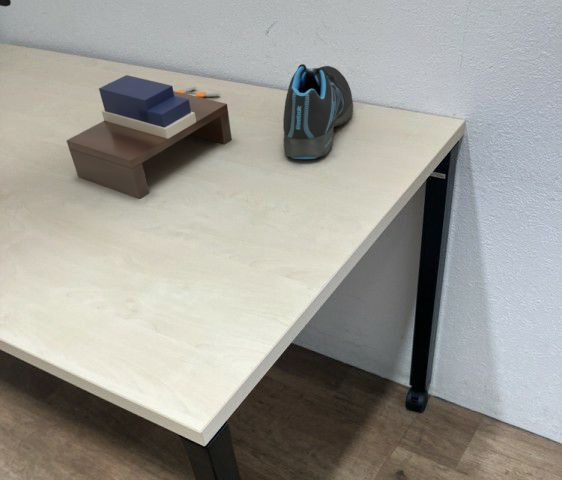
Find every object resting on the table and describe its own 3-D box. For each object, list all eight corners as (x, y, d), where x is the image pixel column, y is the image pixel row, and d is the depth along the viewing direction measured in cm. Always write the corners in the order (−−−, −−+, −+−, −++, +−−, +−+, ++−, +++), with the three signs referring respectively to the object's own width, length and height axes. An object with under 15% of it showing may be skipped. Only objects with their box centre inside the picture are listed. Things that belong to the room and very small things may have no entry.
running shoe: (357, 95, 112) (358, 31, 104) (341, 165, 94) (341, 93, 86) (305, 95, 114) (303, 31, 106) (280, 163, 96) (274, 93, 88)
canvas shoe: (104, 120, 97) (95, 88, 93) (133, 105, 100) (125, 73, 97) (167, 139, 91) (160, 105, 87) (196, 122, 94) (190, 88, 91)
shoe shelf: (140, 198, 91) (130, 161, 87) (78, 176, 97) (66, 140, 93) (231, 139, 103) (227, 103, 98) (171, 123, 109) (164, 88, 105)
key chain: (158, 113, 112) (157, 109, 111) (146, 100, 116) (145, 96, 116) (222, 96, 115) (221, 92, 115) (207, 84, 120) (206, 80, 119)
